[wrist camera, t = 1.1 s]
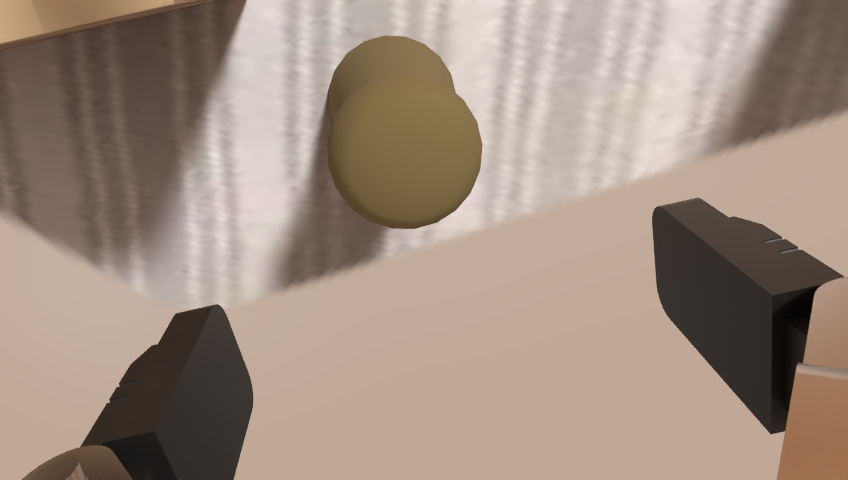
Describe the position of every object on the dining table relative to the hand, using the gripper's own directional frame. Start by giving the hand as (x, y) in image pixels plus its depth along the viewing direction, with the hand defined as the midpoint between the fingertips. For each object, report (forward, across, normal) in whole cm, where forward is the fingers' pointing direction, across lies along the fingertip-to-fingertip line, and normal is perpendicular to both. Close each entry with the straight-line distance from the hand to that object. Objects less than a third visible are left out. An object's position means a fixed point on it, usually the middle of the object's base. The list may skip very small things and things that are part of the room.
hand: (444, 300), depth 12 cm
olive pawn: (+20, 0, 0) cm, 20 cm away
